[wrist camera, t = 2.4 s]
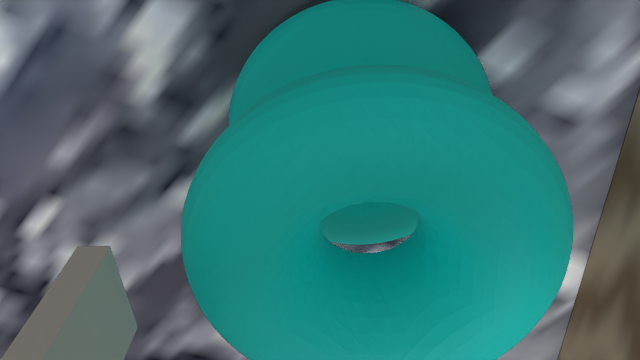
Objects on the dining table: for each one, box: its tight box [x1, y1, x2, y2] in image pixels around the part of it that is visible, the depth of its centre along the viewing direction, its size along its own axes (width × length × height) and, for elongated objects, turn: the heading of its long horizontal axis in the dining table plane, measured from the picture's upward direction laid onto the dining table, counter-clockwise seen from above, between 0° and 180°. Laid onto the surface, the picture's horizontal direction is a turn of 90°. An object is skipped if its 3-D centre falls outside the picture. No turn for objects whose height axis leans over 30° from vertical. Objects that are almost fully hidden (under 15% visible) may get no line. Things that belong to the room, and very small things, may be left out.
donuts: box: [181, 0, 573, 360], centre depth 16 cm, size 10×10×10 cm
